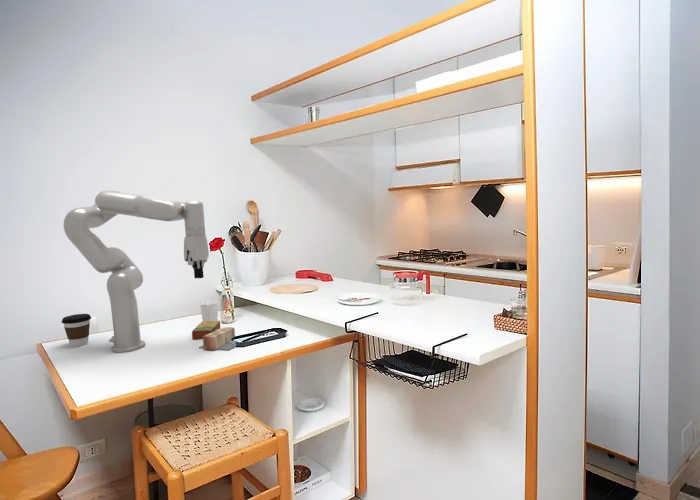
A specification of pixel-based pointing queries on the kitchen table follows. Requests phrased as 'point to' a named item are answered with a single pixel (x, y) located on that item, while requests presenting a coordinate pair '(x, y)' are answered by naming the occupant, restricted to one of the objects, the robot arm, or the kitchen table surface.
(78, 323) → the coffee cup
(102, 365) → the kitchen table surface
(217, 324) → the carton
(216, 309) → the white cup
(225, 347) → the rubber mat
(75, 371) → the kitchen table surface
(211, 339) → the wood block
